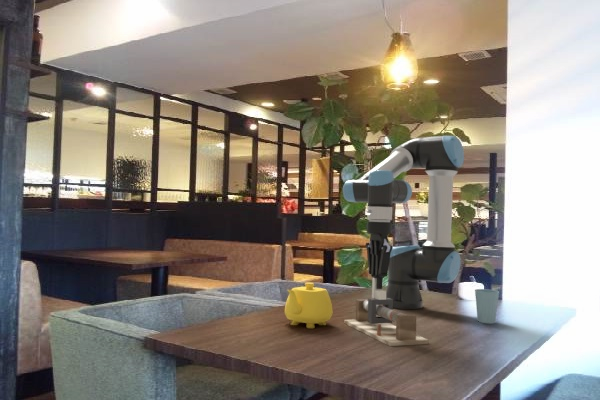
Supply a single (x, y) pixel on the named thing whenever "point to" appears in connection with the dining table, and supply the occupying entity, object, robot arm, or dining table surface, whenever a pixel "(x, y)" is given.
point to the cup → (486, 305)
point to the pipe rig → (387, 325)
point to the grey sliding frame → (378, 300)
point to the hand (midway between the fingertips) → (376, 299)
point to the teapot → (308, 305)
